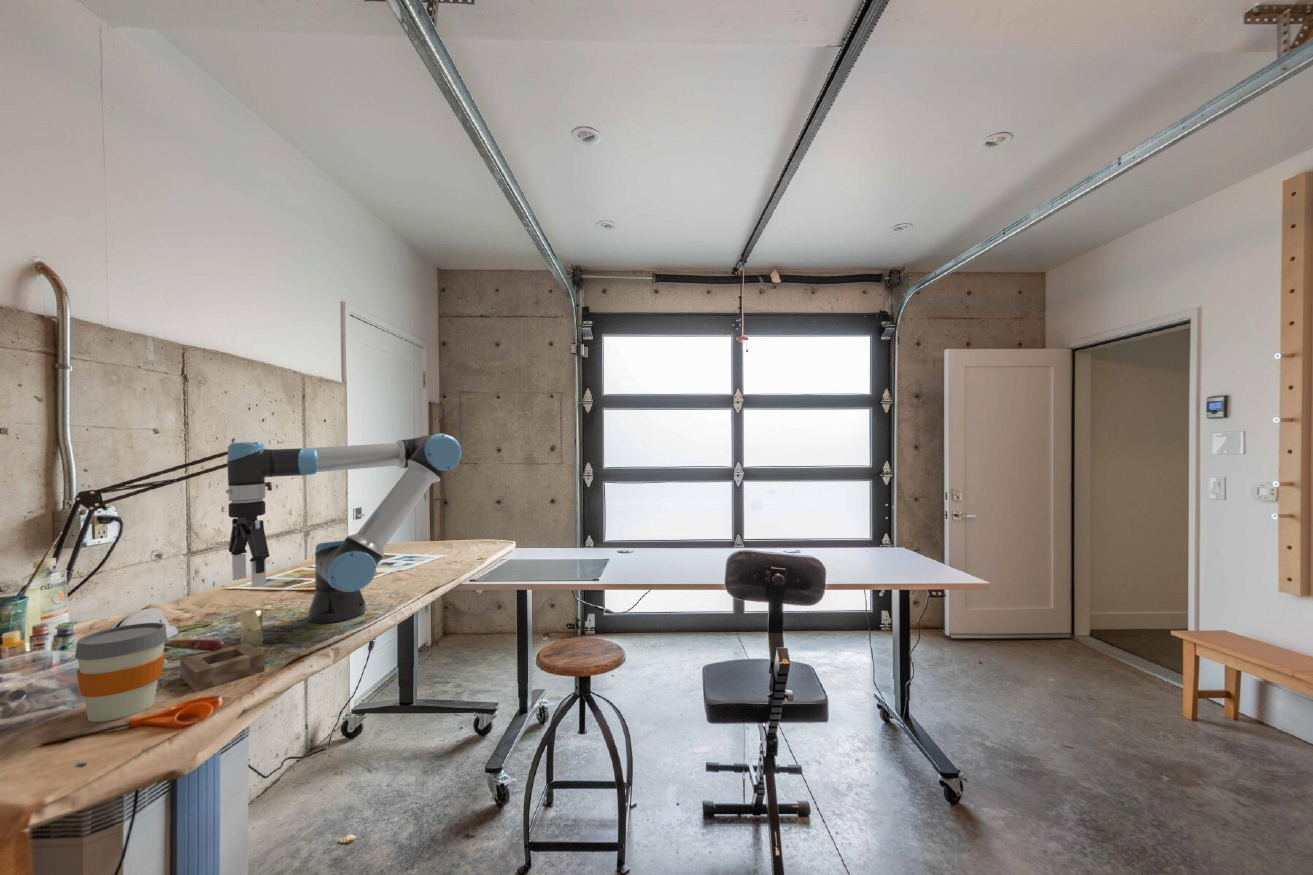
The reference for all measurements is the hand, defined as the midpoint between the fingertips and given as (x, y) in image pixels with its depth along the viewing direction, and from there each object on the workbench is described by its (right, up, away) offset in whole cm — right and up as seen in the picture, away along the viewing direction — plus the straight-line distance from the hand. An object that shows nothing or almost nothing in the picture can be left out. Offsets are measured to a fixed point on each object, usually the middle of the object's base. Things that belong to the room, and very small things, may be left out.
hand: (248, 582), depth 132 cm
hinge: (-30, -18, +2) cm, 35 cm away
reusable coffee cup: (+1, -16, -33) cm, 36 cm away
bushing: (0, -17, +1) cm, 17 cm away
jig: (+8, -16, -17) cm, 25 cm away
